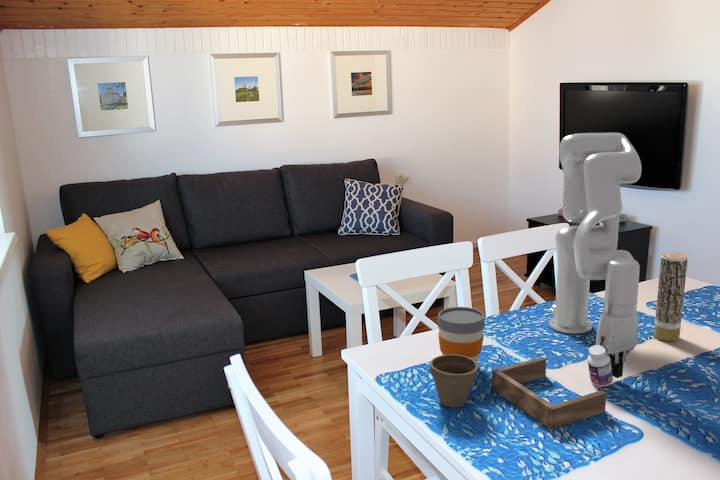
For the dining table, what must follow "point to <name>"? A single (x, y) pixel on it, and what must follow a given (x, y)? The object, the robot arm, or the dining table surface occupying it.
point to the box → (546, 413)
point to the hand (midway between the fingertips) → (615, 375)
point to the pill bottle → (599, 366)
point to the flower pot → (453, 378)
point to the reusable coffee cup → (461, 331)
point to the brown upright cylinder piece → (670, 296)
